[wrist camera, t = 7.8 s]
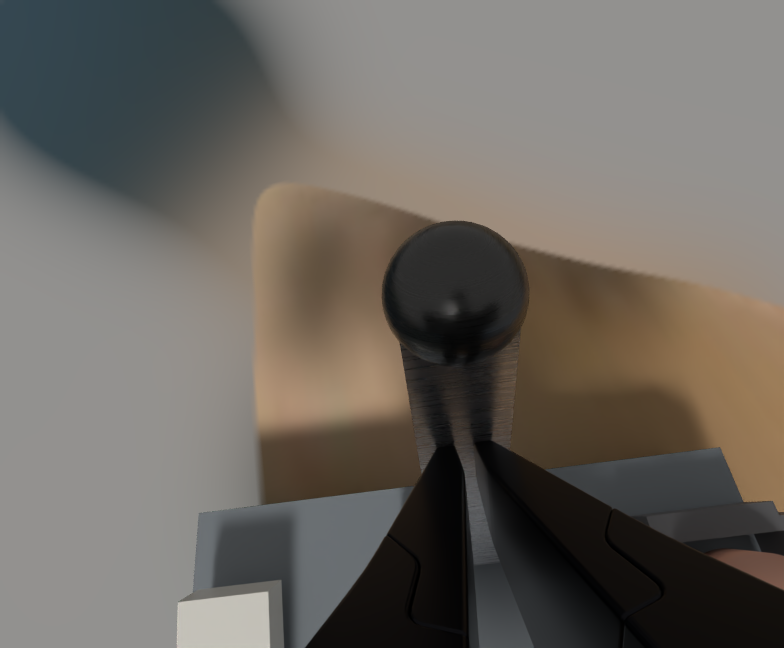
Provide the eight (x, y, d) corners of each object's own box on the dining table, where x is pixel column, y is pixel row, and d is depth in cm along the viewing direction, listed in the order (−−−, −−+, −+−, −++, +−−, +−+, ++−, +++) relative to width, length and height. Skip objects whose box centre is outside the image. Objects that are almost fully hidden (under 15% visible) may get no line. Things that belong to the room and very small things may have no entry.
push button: (831, 675, 11) (890, 698, 10) (710, 688, 11) (750, 713, 10) (773, 542, 13) (817, 545, 11) (665, 554, 13) (694, 559, 11)
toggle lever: (512, 586, 13) (561, 261, 5) (433, 595, 13) (372, 288, 5) (493, 508, 15) (509, 186, 7) (424, 517, 15) (369, 207, 7)
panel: (806, 738, 14) (976, 840, 9) (221, 797, 15) (130, 916, 10) (693, 455, 18) (778, 436, 13) (233, 513, 18) (171, 512, 14)
